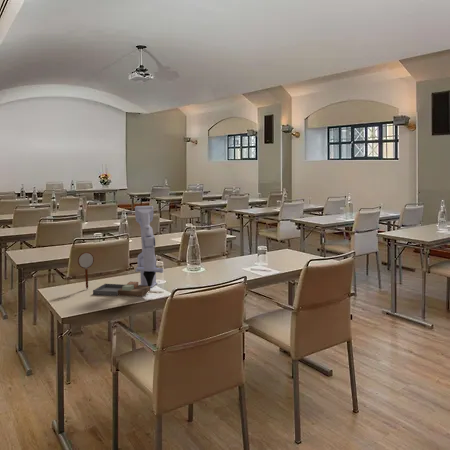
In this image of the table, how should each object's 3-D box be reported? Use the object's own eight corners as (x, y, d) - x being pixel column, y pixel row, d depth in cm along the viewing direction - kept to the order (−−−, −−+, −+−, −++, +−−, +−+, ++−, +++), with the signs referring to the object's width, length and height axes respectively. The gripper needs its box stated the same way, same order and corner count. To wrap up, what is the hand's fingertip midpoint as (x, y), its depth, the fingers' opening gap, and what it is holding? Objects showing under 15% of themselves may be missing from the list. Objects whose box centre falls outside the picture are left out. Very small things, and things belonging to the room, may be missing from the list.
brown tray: (127, 289, 259) (127, 284, 259) (150, 290, 257) (150, 285, 256) (117, 295, 248) (117, 290, 247) (141, 296, 245) (141, 291, 245)
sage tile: (125, 288, 252) (125, 284, 252) (134, 288, 251) (133, 284, 251) (122, 290, 248) (122, 286, 247) (130, 290, 247) (130, 286, 246)
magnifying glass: (94, 287, 263) (92, 251, 260) (95, 288, 262) (94, 251, 259) (78, 290, 258) (76, 253, 255) (79, 290, 257) (78, 253, 254)
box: (105, 287, 263) (105, 283, 263) (127, 288, 260) (127, 284, 260) (93, 294, 249) (92, 290, 249) (116, 295, 247) (116, 291, 246)
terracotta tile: (130, 285, 258) (130, 281, 258) (138, 285, 257) (138, 281, 257) (127, 287, 253) (126, 283, 253) (135, 287, 253) (135, 284, 252)
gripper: (132, 260, 249) (133, 286, 251) (159, 262, 246) (160, 288, 248) (138, 258, 256) (138, 283, 258) (164, 259, 253) (165, 284, 255)
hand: (149, 285), depth 253 cm, fingers closed
